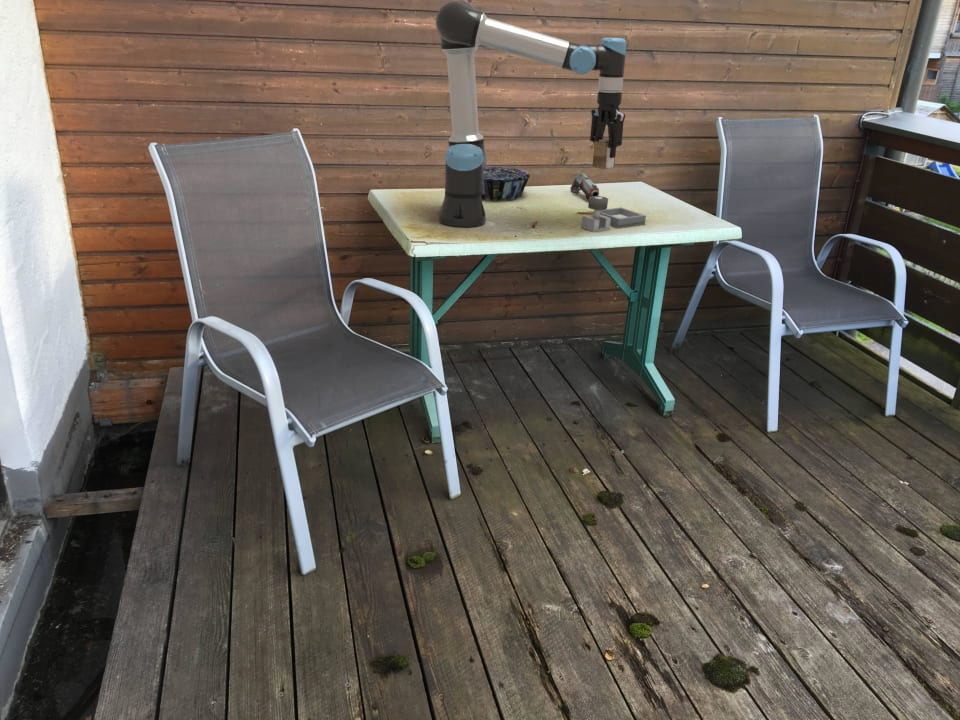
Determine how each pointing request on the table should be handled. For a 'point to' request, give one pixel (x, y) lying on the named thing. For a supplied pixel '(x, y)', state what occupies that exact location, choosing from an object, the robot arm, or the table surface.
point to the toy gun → (584, 186)
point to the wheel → (597, 204)
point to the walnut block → (600, 154)
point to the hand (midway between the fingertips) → (603, 166)
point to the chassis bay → (623, 217)
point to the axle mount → (596, 223)
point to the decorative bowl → (503, 183)
